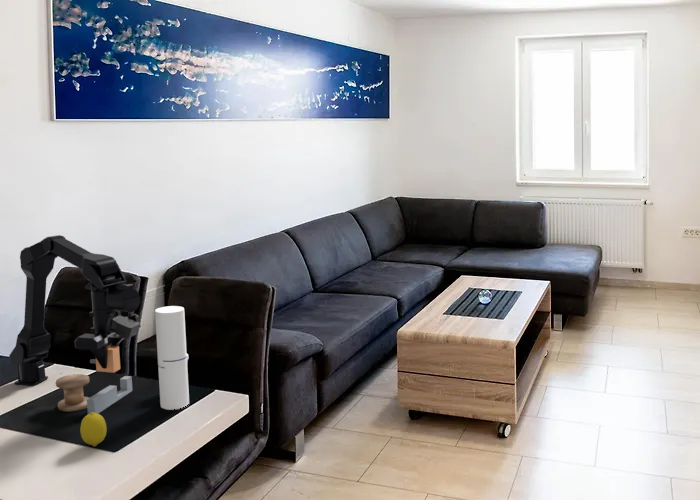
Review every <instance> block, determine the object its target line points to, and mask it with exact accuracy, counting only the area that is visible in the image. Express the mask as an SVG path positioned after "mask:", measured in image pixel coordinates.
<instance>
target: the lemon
mask: <svg viewBox="0 0 700 500" xmlns="http://www.w3.org/2000/svg"><path fill="white" fill-rule="evenodd" d="M107 429H108V427H107V422H106V420H105V418H104V417H103V416H102V415H101V414H100V413H98V414H97V413H94V412H91V413H90V414H88V413H87V414H86V415H85V416H84V417H83V419H82V420H81V423H80V431H79V432H80V437H81V438H82V440H83V442H84V443H85V444H88V445H91V446H93V447H97V446H98V444H100V443H101V442H103V441H104V440H105V437H106V436H107V431H108V430H107Z"/></svg>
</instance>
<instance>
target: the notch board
mask: <svg viewBox="0 0 700 500" xmlns="http://www.w3.org/2000/svg"><path fill="white" fill-rule="evenodd" d="M132 380H133V377H132V376H131V375H129V376H128V375H124V376H123V377H121V378H120V379H119V383H120V385H119V386H120V390H118V388H117V387H118V386H117V385H111V384H109V385H108V386H106V387H104V388H103V389H101V390H100V391H98V392H97V393H95V394H94V395H92V396H90V397H89V399H87V408H86V409H87V415H88V414H90V413H91V412H94V413H97V414H100V413H101V412H103V411H105V410H106V409H107V408H109V407H111V405H113V404H115V403H116V402H118V401H119V400H121V399H122V398H124V397H126V396H127V395H128V394H130V393H131V392H133V381H132Z"/></svg>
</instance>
